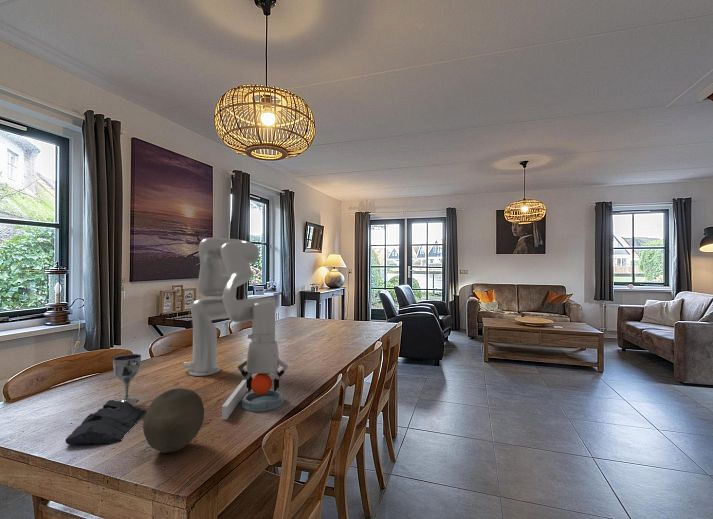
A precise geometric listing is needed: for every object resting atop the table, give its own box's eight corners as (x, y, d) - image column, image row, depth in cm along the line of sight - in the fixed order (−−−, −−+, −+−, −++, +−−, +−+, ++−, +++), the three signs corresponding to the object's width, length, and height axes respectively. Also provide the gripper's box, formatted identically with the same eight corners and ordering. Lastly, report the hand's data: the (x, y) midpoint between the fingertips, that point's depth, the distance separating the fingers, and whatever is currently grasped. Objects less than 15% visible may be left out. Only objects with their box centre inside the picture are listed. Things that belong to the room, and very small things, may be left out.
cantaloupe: (127, 459, 84) (128, 396, 84) (176, 432, 97) (177, 378, 97) (171, 472, 78) (172, 405, 79) (217, 442, 92) (218, 385, 92)
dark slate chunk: (51, 452, 87) (51, 433, 87) (93, 415, 108) (93, 400, 108) (121, 445, 91) (121, 426, 91) (148, 410, 112) (148, 395, 112)
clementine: (274, 389, 122) (274, 368, 122) (276, 396, 116) (276, 374, 116) (250, 391, 120) (250, 370, 120) (251, 399, 113) (251, 377, 113)
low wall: (221, 419, 105) (221, 406, 105) (242, 390, 129) (243, 379, 129) (226, 419, 105) (227, 406, 105) (246, 390, 129) (247, 379, 129)
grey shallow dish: (236, 412, 110) (236, 404, 110) (247, 395, 124) (247, 389, 124) (280, 411, 111) (280, 404, 111) (286, 395, 125) (286, 388, 125)
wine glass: (145, 398, 120) (146, 355, 120) (123, 407, 113) (124, 361, 113) (129, 395, 123) (129, 353, 123) (106, 404, 115) (107, 358, 115)
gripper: (234, 340, 114) (233, 394, 113) (288, 340, 115) (287, 394, 114) (240, 335, 121) (239, 386, 121) (291, 335, 122) (290, 385, 122)
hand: (262, 389), depth 118 cm, fingers closed on clementine, 8 cm apart
